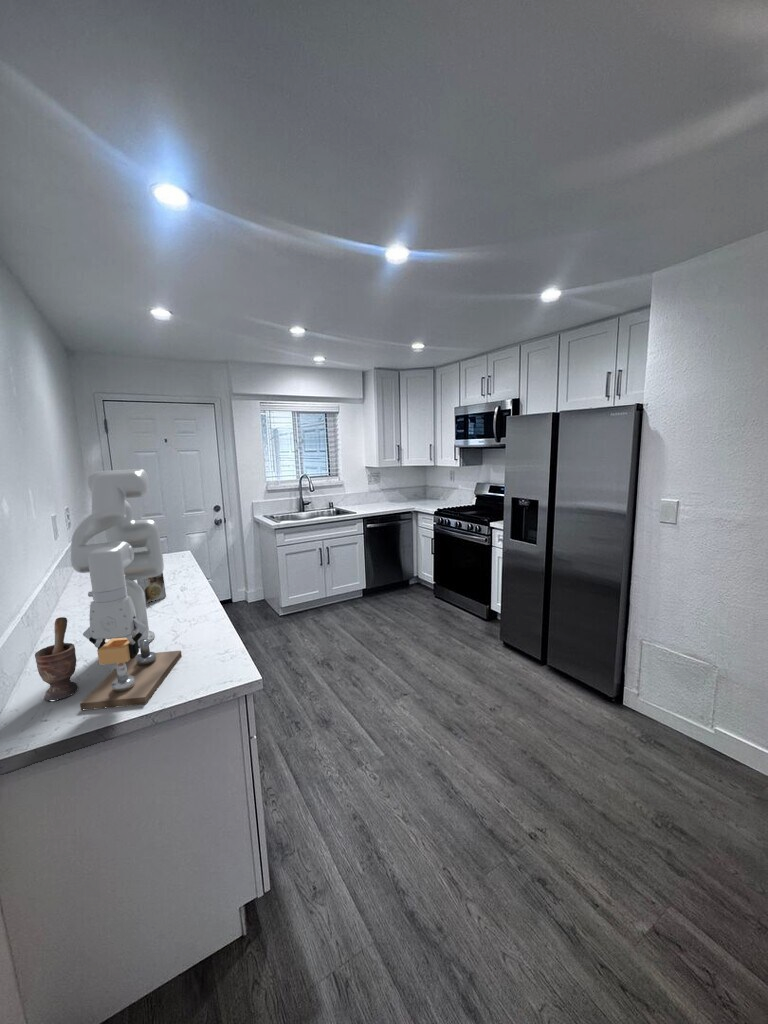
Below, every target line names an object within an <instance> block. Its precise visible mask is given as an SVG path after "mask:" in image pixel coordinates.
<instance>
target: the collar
mask: <svg viewBox="0 0 768 1024" xmlns="http://www.w3.org/2000/svg"><path fill="white" fill-rule="evenodd" d="M106 642H107V643H105V644H104V645H103V646H102V647H101V648H99V649H98V648H97V650H96V651H97V657H98V665H99V666H103V665H111V664H118V663H124V662H128V661H129V660H130V659H131V658H130V652H129V645H130V642H129V641H128V639H127V638H116V639H108V641H106Z"/></svg>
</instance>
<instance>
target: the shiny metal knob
mask: <svg viewBox="0 0 768 1024" xmlns="http://www.w3.org/2000/svg"><path fill="white" fill-rule="evenodd" d="M139 644H140V646H139V652H140V653H139V654H140V655H138V656H137V657H136V662H137V666H147V665H150V664H152V663H154V662H155V661H156V654H155V653H156V652H154V651H150V642H148V639H142V640H140V641H139Z"/></svg>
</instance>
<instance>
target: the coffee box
mask: <svg viewBox="0 0 768 1024" xmlns="http://www.w3.org/2000/svg"><path fill="white" fill-rule="evenodd" d="M136 583H137V584H138V585H140V586H141V588H142V589H143V591H144V597H145V604H146V603H147V604H149V603H148V602H150V603H152V602H151V601H153V602H156V601H159V599H160V600H162V598H163V599H165V597H166V598H167V593H166V586H165V578H164V572H163V573H162V574H161V575H159V576H156V577H151V578H144V579H138V580H136ZM155 600H156V601H155Z"/></svg>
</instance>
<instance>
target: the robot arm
mask: <svg viewBox="0 0 768 1024" xmlns="http://www.w3.org/2000/svg"><path fill="white" fill-rule="evenodd" d="M87 484H88V488H89V490H90V492H91V514H90V515H88V516H87V517H86V518H84V519H83V520H82V522H80V524H79V525H78V526H77V527H76V528H75V530H74V532H73V534H72V537H71V543H70V544H71V545H70V546H71V547H70V562H71V567H72V568H73V569H74V571H75V572H77V573H80V574H87V573H89V579H90V583H91V591H88V593H87V595H88V597H90V598H92V600H93V601H91V602H90V604H89V627H87V629H86V630H84V632H83V633H82V636H83V637H84V638H86V639H87V640H88V641H89V642H91V644H93V645H94V647H95V648H97V650H98V649H99V648H101V647H102V646H103V645H104V644H105V643H107V642H108V641H106V640H110V639H116V638H127V639H128V641H129V642H130V645H129V652H130V658H131V659H133V658H134V657H135V656H136V655H137V654H139V652H140V644H139V641H140V640H142V639H148V642H149V643H150V642H152V641H153V640H155V639H154V638H156V637H155V635H156V633H155V632H154V631H152V630H150V627H149V619H148V613H147V605H146V603H145V597H144V591H143V589H142V588H141V586H140V585H138V583H137V580H138V579H144V578H151V577H156V576H159V575H161V574H162V573H163V574H164V568H165V566H164V557H163V548H162V542H161V541H162V540H161V534H160V530H159V525H158V524H157V522H156V521H155V520H152V519H139V520H138V519H137V520H134V516H133V515H134V514H133V508H132V505H131V504H130V503H129V502H128V501H127V500H126V499H137V498H143V497H146V496H147V494H148V491H149V490H150V489H149V488H150V479H149V475H148V473H147V472H146V470H144V469H142V468H133V469H132V468H130V469H113V470H112V469H111V470H110V469H109V470H99V471H95V472H92V473H91V474H89V475H88V476H87ZM104 531H105V538H106V539H105V540H106V542H100V543H92V544H90V543H89V544H87V543H88V542H89V541H90V539H92V538H93V537H95V536H96V535H98V534H100V533H102V532H104ZM138 548H145V549H147V550H142V551H134V549H138Z"/></svg>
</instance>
